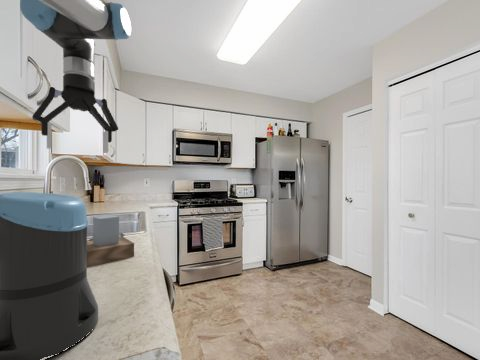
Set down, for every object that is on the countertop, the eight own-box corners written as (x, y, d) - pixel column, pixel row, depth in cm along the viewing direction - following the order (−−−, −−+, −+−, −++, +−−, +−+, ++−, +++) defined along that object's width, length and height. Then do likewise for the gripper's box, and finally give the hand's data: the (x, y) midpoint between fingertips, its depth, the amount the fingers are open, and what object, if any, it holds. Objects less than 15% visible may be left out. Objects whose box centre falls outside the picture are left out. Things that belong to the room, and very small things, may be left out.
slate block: (99, 246, 73) (99, 218, 74) (92, 243, 77) (93, 217, 77) (118, 243, 78) (118, 216, 78) (111, 240, 82) (112, 215, 82)
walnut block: (85, 268, 68) (85, 251, 68) (78, 257, 79) (78, 242, 79) (134, 257, 78) (134, 243, 78) (122, 249, 88) (122, 236, 88)
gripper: (120, 93, 78) (121, 155, 78) (19, 67, 60) (19, 147, 60) (128, 86, 73) (129, 152, 72) (20, 56, 55) (20, 143, 55)
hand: (79, 150), depth 66 cm, fingers open, 13 cm apart
